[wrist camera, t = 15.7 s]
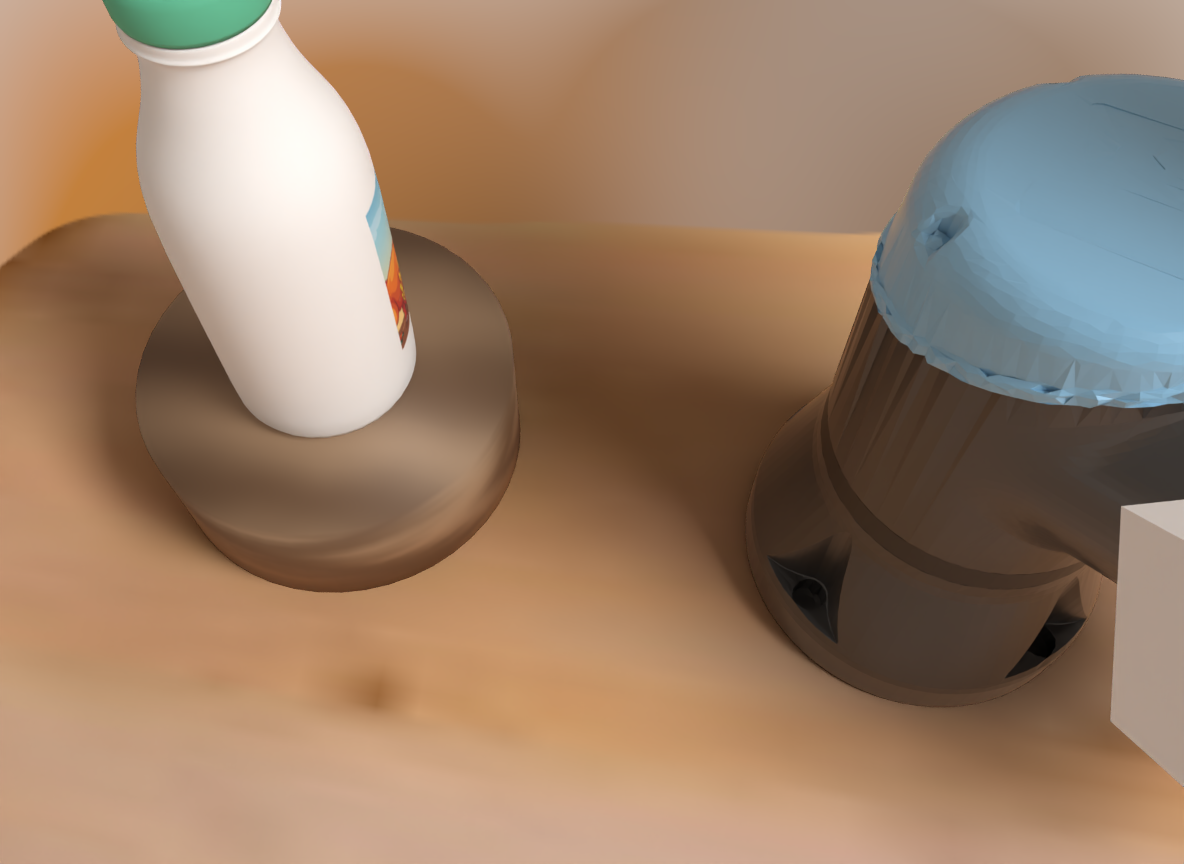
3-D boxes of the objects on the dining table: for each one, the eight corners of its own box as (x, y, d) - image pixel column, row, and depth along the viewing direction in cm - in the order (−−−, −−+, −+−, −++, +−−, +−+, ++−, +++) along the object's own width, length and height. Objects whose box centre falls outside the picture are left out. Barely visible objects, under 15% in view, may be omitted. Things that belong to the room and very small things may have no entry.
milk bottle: (404, 449, 43) (289, 48, 26) (217, 439, 44) (-19, 34, 26) (430, 299, 47) (344, -135, 30) (258, 291, 48) (76, -146, 30)
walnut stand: (255, 278, 56) (222, 198, 50) (553, 331, 54) (551, 255, 49) (124, 553, 48) (69, 491, 42) (470, 625, 46) (456, 570, 41)
